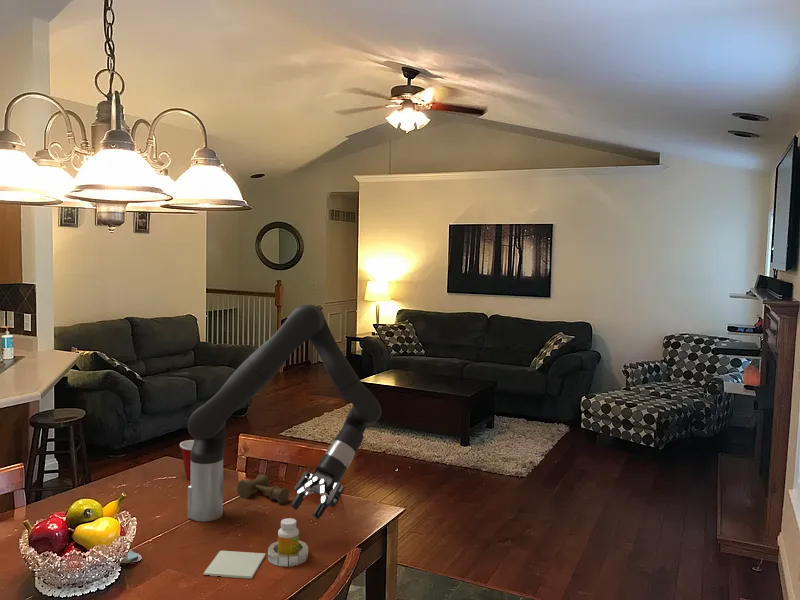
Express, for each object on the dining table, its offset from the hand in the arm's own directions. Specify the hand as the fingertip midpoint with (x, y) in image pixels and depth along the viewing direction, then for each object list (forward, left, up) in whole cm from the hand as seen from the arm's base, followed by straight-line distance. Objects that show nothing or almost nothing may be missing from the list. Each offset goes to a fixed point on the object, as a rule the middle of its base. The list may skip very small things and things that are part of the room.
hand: (304, 512), depth 173 cm
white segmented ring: (-3, -4, -10) cm, 12 cm away
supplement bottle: (-3, -4, -11) cm, 12 cm away
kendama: (-21, +35, -11) cm, 42 cm away
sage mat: (-15, -10, -10) cm, 21 cm away
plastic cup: (-48, +48, -11) cm, 69 cm away
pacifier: (-42, -12, -11) cm, 45 cm away
